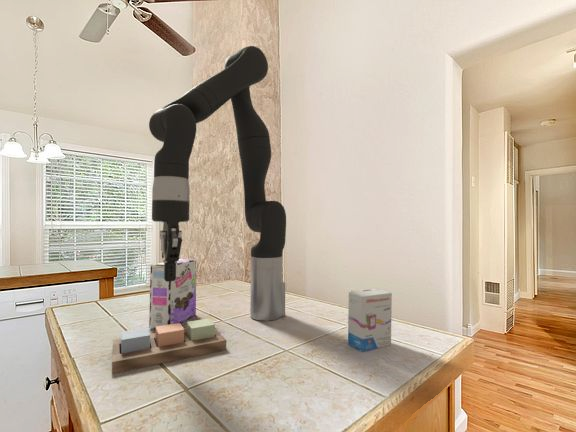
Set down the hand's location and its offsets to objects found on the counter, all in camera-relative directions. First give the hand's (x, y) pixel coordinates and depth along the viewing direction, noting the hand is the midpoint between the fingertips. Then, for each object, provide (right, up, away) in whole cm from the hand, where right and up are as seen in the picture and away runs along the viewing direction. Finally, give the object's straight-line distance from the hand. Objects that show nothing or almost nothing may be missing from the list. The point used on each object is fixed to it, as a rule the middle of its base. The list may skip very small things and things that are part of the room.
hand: (169, 280), depth 65 cm
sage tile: (+6, -13, +3) cm, 15 cm away
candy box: (-6, -15, +18) cm, 24 cm away
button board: (0, -15, 0) cm, 15 cm away
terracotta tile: (0, -13, 0) cm, 13 cm away
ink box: (+43, -15, +2) cm, 46 cm away
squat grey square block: (-6, -13, -4) cm, 15 cm away
